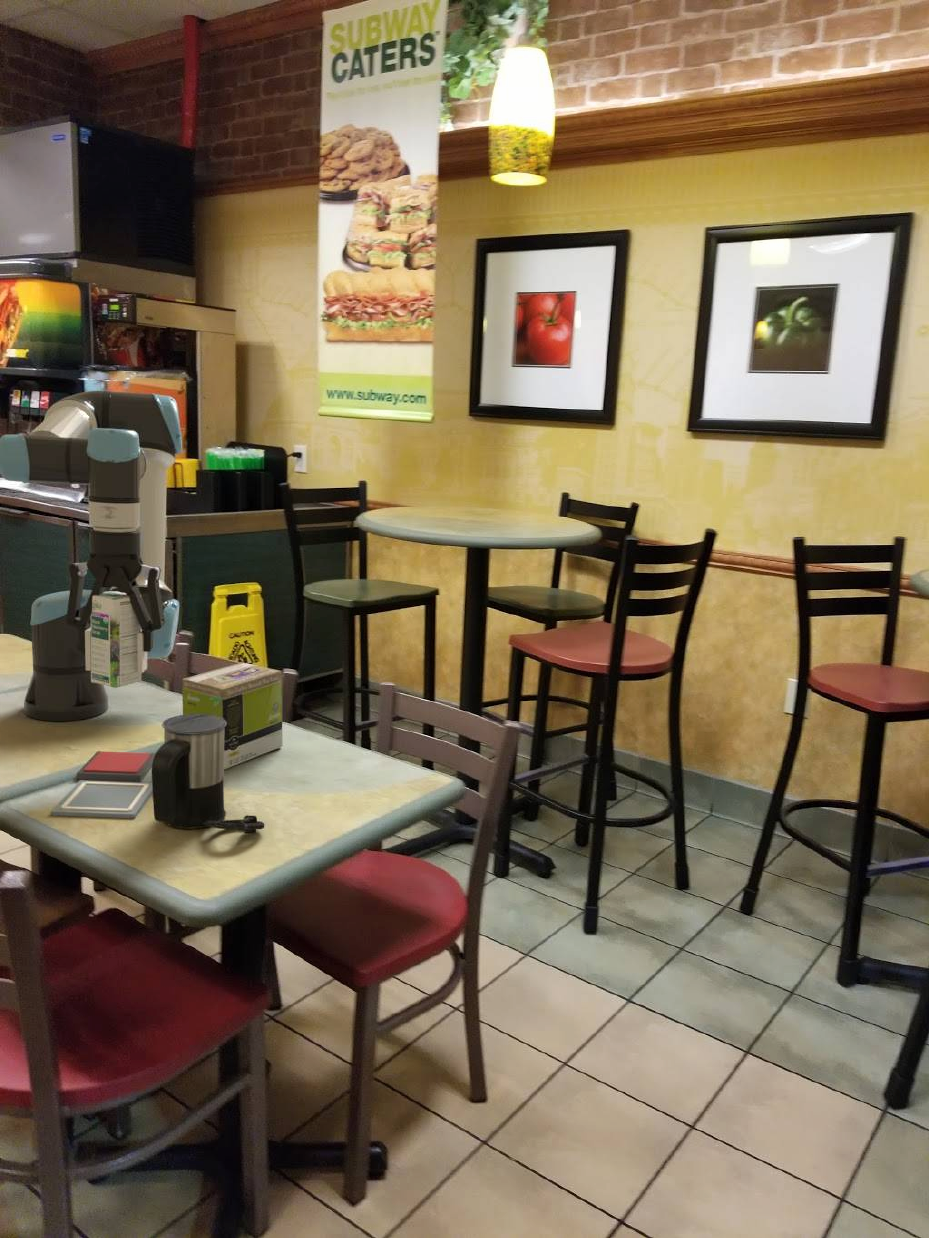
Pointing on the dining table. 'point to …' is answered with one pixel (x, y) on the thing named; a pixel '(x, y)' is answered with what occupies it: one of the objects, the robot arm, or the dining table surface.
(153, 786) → the milk frother
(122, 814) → the marked board
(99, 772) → the ink pad
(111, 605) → the syrup box
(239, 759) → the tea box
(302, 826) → the dining table surface
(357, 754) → the dining table surface
